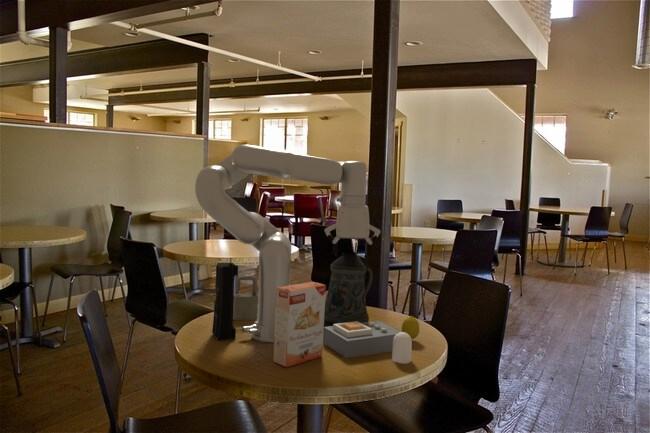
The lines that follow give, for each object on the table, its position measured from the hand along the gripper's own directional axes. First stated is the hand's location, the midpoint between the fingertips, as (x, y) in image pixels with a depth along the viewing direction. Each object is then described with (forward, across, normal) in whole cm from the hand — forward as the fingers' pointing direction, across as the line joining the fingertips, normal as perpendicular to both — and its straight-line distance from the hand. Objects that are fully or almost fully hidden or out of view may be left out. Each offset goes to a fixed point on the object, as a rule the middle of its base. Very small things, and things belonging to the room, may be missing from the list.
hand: (351, 256), depth 163 cm
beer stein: (+26, 0, +16) cm, 31 cm away
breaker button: (+22, 0, -8) cm, 24 cm away
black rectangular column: (+26, -39, -2) cm, 47 cm away
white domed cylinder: (+27, +14, -17) cm, 35 cm away
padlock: (+26, -35, +18) cm, 47 cm away
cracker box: (+26, -15, -20) cm, 36 cm away
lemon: (+27, +19, +1) cm, 33 cm away
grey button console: (+26, +4, -6) cm, 27 cm away
